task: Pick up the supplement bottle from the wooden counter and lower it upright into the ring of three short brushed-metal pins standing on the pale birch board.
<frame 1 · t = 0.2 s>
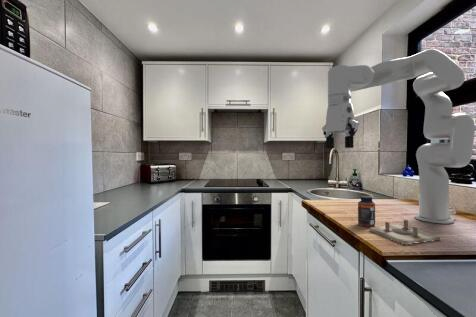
hand: (339, 148, 88), 30 cm above the worktop, tool pointing down, fingers open, 9 cm apart
supplement bottle: (366, 225, 94), on the worktop
pin board: (402, 235, 82), on the worktop
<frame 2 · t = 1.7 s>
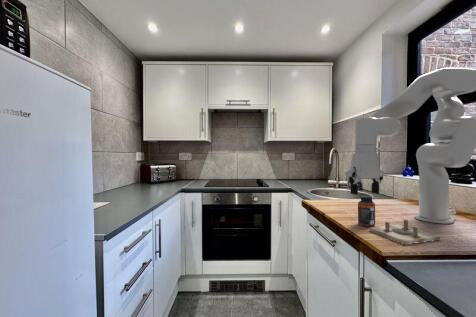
hand: (364, 193, 94), 12 cm above the worktop, tool pointing down, fingers open, 9 cm apart
nothing on the worktop moved.
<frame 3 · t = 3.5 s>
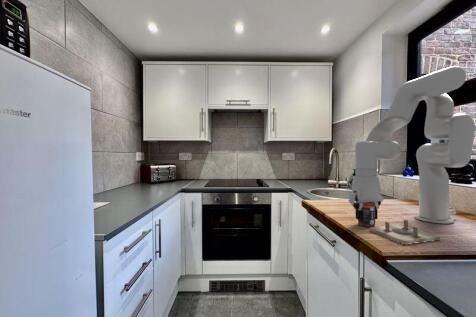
hand: (366, 218, 94), 3 cm above the worktop, tool pointing down, fingers closed on supplement bottle, 5 cm apart
supplement bottle: (366, 225, 94), on the worktop, touching gripper
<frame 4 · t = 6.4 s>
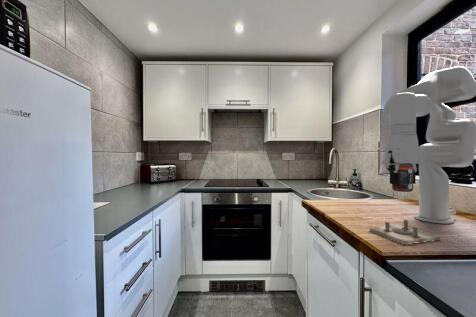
hand: (402, 183, 82), 18 cm above the worktop, tool pointing down, fingers closed on supplement bottle, 5 cm apart
supplement bottle: (402, 191, 82), point 15 cm above the worktop, touching gripper
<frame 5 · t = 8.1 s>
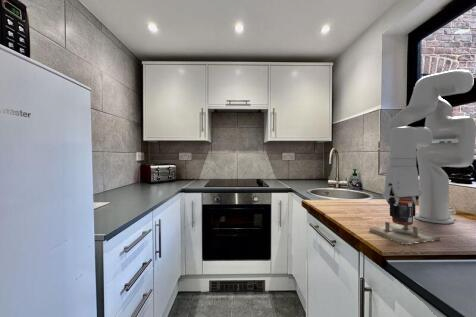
hand: (402, 215, 82), 7 cm above the worktop, tool pointing down, fingers closed on supplement bottle, 5 cm apart
supplement bottle: (402, 223, 82), point 4 cm above the worktop, touching gripper
when the fingers open (5 cm above the worktop, at t = 9.4 s): supplement bottle drops 1 cm, resting on pin board.
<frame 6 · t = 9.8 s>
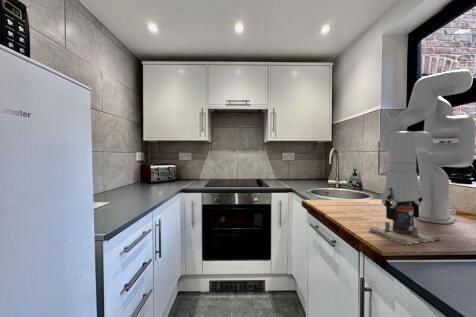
hand: (402, 218, 82), 6 cm above the worktop, tool pointing down, fingers open, 9 cm apart
supplement bottle: (403, 232, 82), point 1 cm above the worktop, touching pin board
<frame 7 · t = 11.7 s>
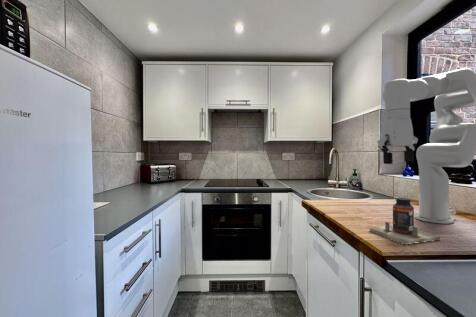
hand: (398, 162, 87), 25 cm above the worktop, tool pointing down, fingers open, 9 cm apart
nothing on the worktop moved.
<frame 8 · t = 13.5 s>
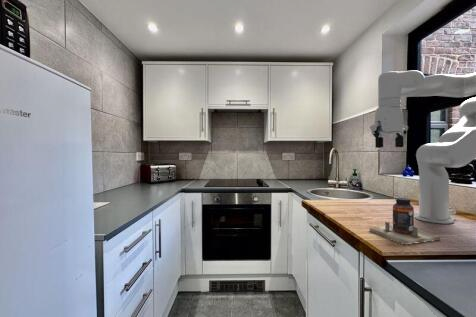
hand: (389, 147, 96), 30 cm above the worktop, tool pointing down, fingers open, 9 cm apart
nothing on the worktop moved.
at the end: supplement bottle 0.3 cm from the pin board (horizontally); supplement bottle tilted 0°; supplement bottle point 1.1 cm above the worktop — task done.
